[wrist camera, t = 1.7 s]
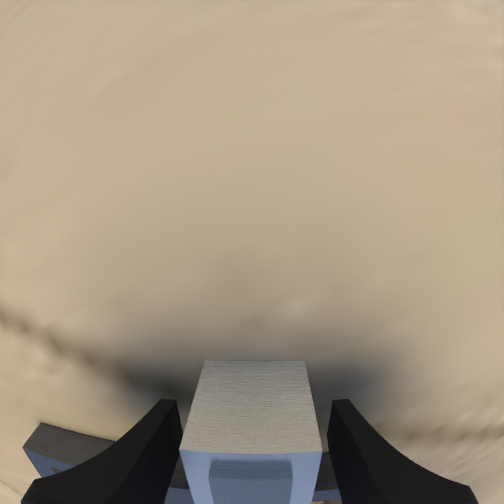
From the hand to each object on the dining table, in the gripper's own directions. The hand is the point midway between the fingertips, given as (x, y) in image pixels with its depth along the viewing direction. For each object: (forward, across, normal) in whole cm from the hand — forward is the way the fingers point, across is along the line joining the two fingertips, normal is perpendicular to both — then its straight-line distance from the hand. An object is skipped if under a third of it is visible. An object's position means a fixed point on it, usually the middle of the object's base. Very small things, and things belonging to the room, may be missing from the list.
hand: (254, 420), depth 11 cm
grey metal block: (+2, 0, 0) cm, 2 cm away
